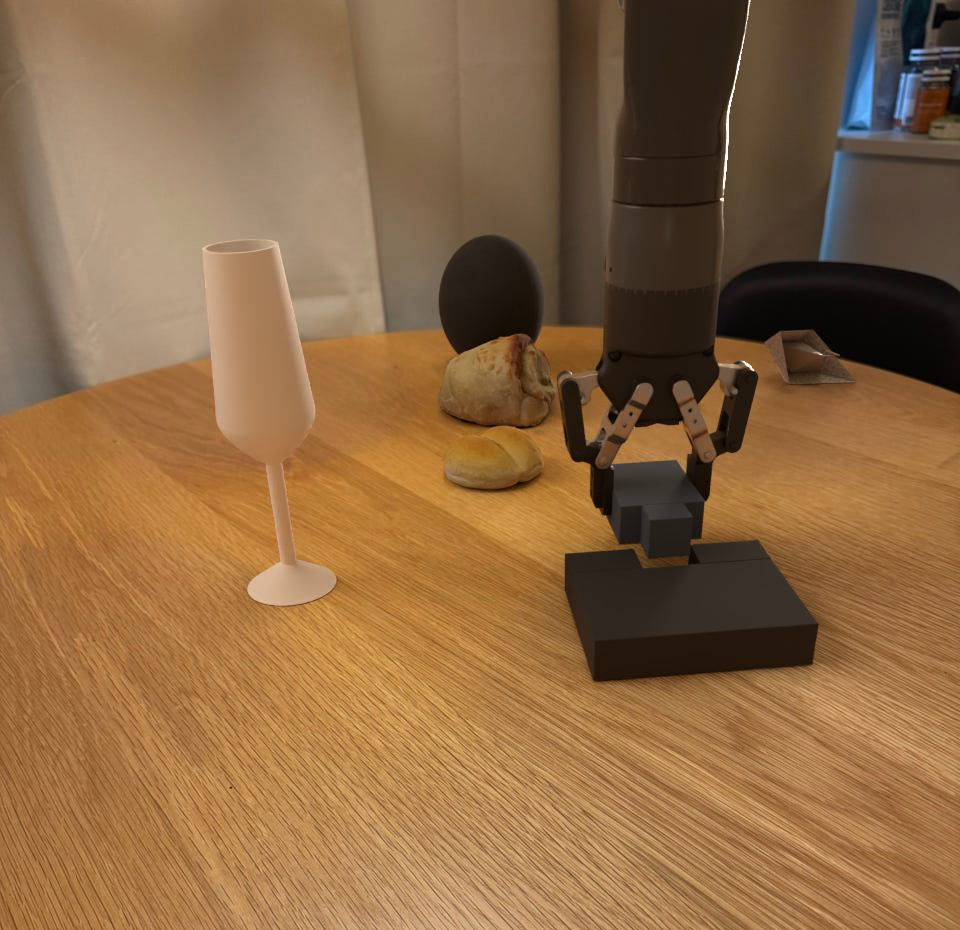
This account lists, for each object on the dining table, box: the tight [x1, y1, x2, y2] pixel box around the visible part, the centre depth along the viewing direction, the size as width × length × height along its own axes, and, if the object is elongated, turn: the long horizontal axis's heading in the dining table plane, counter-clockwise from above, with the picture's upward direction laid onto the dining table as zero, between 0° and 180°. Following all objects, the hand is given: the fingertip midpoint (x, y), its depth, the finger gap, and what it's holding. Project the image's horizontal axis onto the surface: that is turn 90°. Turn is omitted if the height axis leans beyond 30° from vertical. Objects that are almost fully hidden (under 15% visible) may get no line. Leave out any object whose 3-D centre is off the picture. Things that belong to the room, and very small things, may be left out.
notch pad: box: [564, 539, 820, 682], centre depth 67 cm, size 14×12×3 cm
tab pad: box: [605, 459, 706, 560], centre depth 73 cm, size 6×10×3 cm, turn 5°
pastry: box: [438, 334, 558, 428], centre depth 106 cm, size 14×12×8 cm
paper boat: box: [763, 329, 857, 385], centre depth 110 cm, size 12×6×9 cm
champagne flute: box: [201, 238, 338, 607], centre depth 69 cm, size 7×7×24 cm
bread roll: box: [442, 425, 545, 490], centre depth 91 cm, size 8×9×4 cm
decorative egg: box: [438, 234, 546, 356], centre depth 117 cm, size 12×12×15 cm
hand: (649, 507), depth 75 cm, fingers closed on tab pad, 6 cm apart
